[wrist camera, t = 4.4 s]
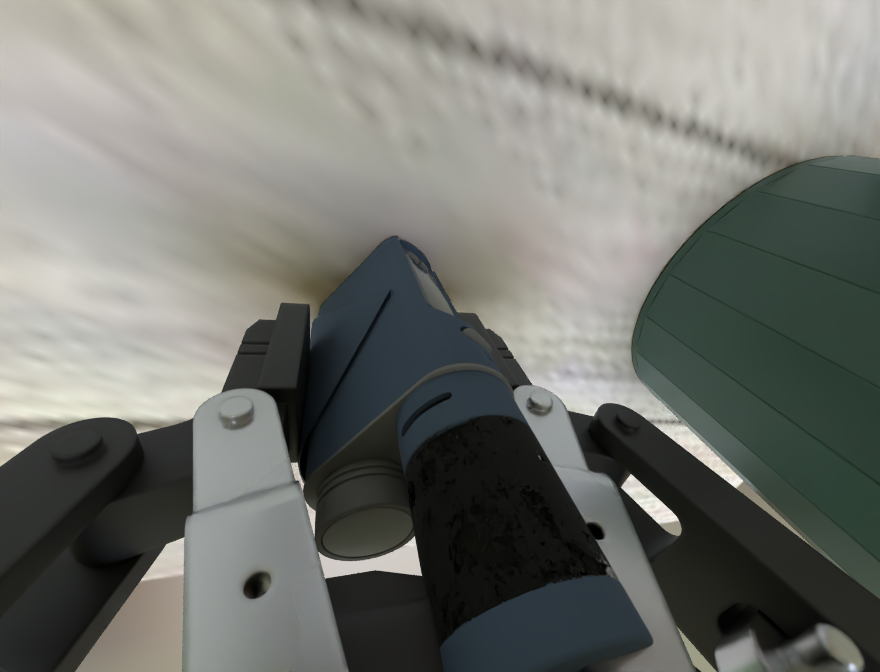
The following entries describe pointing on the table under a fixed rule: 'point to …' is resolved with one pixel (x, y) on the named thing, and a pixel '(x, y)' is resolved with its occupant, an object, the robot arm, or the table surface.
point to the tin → (783, 350)
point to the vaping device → (449, 478)
